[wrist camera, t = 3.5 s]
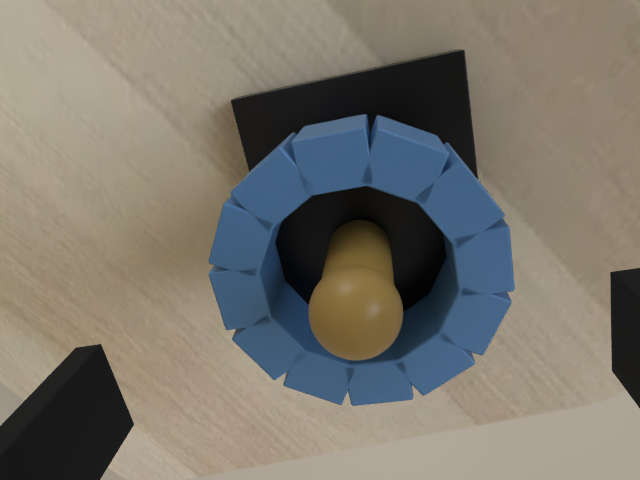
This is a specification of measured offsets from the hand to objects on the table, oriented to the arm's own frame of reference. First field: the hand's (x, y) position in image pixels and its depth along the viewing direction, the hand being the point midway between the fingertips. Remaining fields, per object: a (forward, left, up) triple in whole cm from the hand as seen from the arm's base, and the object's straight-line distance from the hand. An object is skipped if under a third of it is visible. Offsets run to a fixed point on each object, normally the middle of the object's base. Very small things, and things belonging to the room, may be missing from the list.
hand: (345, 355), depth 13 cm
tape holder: (0, 0, -17) cm, 17 cm away
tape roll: (0, 0, -7) cm, 7 cm away
